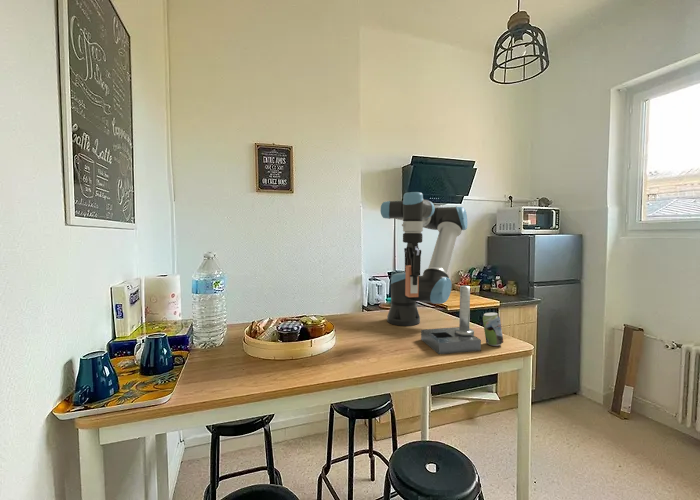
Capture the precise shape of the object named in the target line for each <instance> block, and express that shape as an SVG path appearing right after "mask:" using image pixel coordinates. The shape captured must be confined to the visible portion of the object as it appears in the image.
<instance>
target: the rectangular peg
mask: <svg viewBox="0 0 700 500" xmlns="http://www.w3.org/2000/svg"><path fill="white" fill-rule="evenodd" d="M410 275H411V265H406V276H405V296H407V297H418V293H410ZM419 276H420V275H419ZM419 276H418V289H419Z"/></svg>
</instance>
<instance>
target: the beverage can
mask: <svg viewBox="0 0 700 500" xmlns="http://www.w3.org/2000/svg"><path fill="white" fill-rule="evenodd" d="M482 323H483V328H484V329H483V331H484V335H485V336H484V337H485V343H486V344H488V345H489V346H491V347H492V346H493V347H498V346H501V345H502V344H503V343H504V337H503V331H502V324H501V317H500V315H499V313H497V312H494V311H493V312H485V313H484V314H483V316H482Z"/></svg>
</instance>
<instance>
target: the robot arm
mask: <svg viewBox="0 0 700 500" xmlns="http://www.w3.org/2000/svg"><path fill="white" fill-rule="evenodd" d="M466 210H467V209H466V208H465V207H463V206H445V207H443V206H442V207H441V206H440V207H439V206H438V207H435V205H434V203H433V202H432V201H430V200H428V199H424V194H423V193H422V192H419V191H411V192H405V193H404V194H403V200H388V201H383V202H382V203H381V205H380V214H381V217H382V219H389V220H390V219H392V220H393V219H394V220H400V221H402V223H401V226H402V231H403V233H402V242H403V243H406V247H404V248H403V249H404V271H402V272H397V273H393V274H392V275H391V278H390V307H389V310H388V314H387V317H386V319H387V323H389V324H390V325H395V326H400V327H401V326H403V327H406V326H408V327H409V326H410V327H411V326H416V325H419V324H420V322H421V316H420V313H419V310H418V307H417V302H422V303H428V304H445V303H446V302H447V301H448V300H449V297H450V296H451V292H452V285H453V284H452V280H451V278H450V276H449V274H448V270H449V267H450V264H451V260H452V256H453V253H454V252H453V251H454V248H455V246H456V245H455V244H456V241H457V237H459V236H461V234H462V231H465V230H466V231H467V229H468V215H467V211H466ZM424 229H428V230H434V231H438V236H437V237H436V241H435V245H434V247H433V251H432V254H431V257H430V258H431V259H430V262H429V265H428V268H425V269H424V270H423V272H422V275H421V262H422V261H421V259H422V258H421V256H422V249H420V247H419V243H420V244H421V243H422V242H423V233H422V232H423V231H424ZM406 265H411V275H410V293H418V297H407V296H405V276H406ZM418 276H419V289H418Z"/></svg>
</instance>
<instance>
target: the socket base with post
mask: <svg viewBox="0 0 700 500" xmlns="http://www.w3.org/2000/svg"><path fill="white" fill-rule="evenodd" d="M470 309H471V286H470V285H460V286H459V325H458V326H455V327H443V328H441V327H440V328H428V329H421V330H420V340H421V341H422V342H424V343H425V344H426V345H427V346H428V347H429V348H431V349H432V350H433V351H434V352H435V353H437V354H438V355H448V354H449V355H450V354H458V353H459V354H460V353H469V352H481V349H482V339H480V338H479V337H476V336H475V330H474V329H472V328H470V323H471V322H470V316H471V315H470V314H471V311H470Z"/></svg>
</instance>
